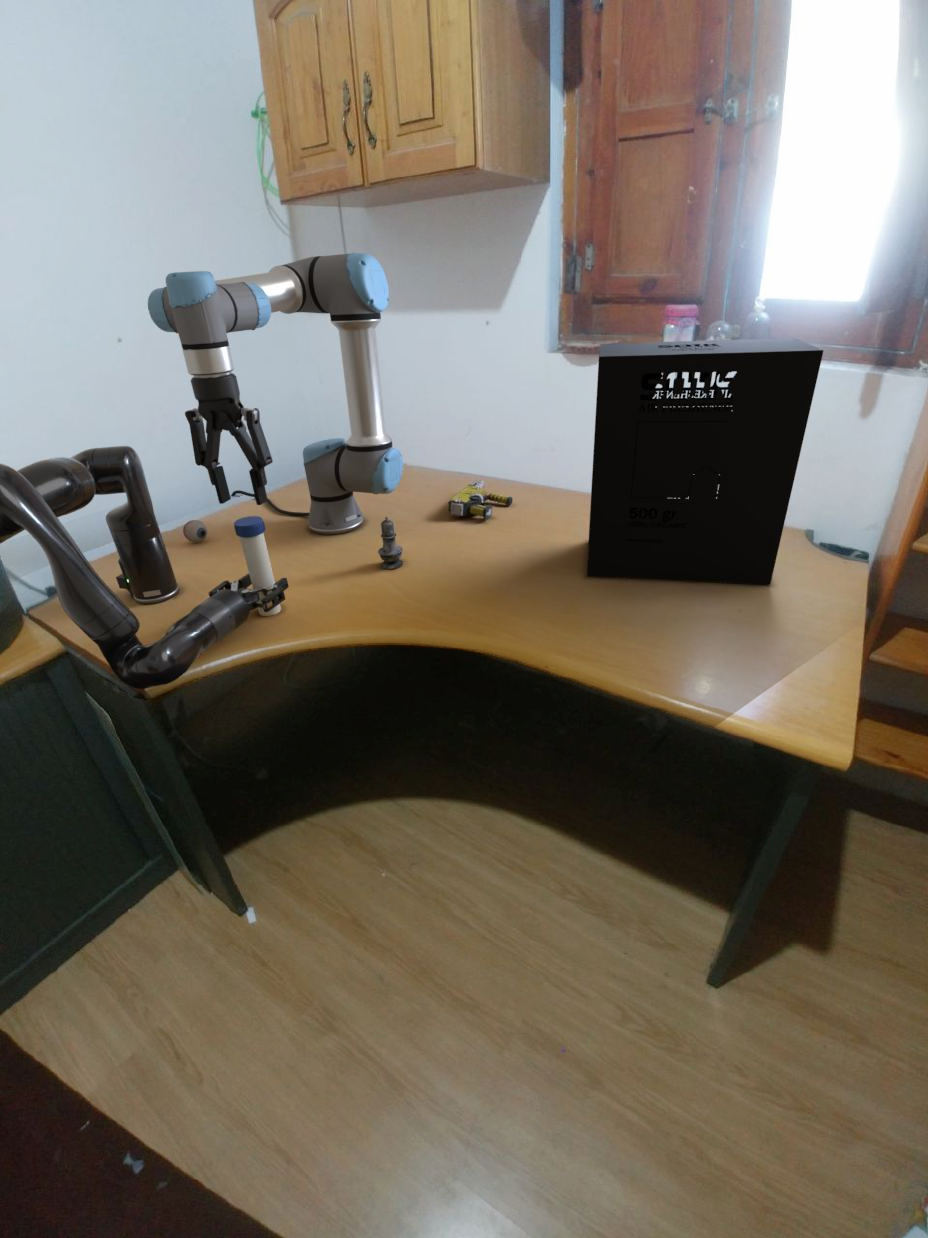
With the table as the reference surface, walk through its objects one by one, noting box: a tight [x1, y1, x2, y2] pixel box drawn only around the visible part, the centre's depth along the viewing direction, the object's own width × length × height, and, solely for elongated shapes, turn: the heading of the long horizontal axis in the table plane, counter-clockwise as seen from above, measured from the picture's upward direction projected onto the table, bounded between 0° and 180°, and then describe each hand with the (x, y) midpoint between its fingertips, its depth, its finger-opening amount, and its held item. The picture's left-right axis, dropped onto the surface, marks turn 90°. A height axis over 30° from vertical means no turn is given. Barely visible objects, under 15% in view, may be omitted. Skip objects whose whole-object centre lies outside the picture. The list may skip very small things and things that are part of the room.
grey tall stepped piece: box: [377, 516, 404, 570], centre depth 141 cm, size 6×6×12 cm
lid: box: [233, 515, 266, 538], centre depth 118 cm, size 6×6×2 cm
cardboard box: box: [586, 337, 824, 586], centre depth 127 cm, size 38×20×45 cm, turn 78°
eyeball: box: [182, 519, 208, 544], centre depth 162 cm, size 6×6×6 cm
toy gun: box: [447, 479, 514, 521], centre depth 175 cm, size 5×24×15 cm
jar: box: [239, 532, 282, 617], centre depth 122 cm, size 4×4×20 cm
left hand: (268, 579), depth 126 cm, fingers open, 8 cm apart
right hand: (243, 501), depth 115 cm, fingers open, 7 cm apart
